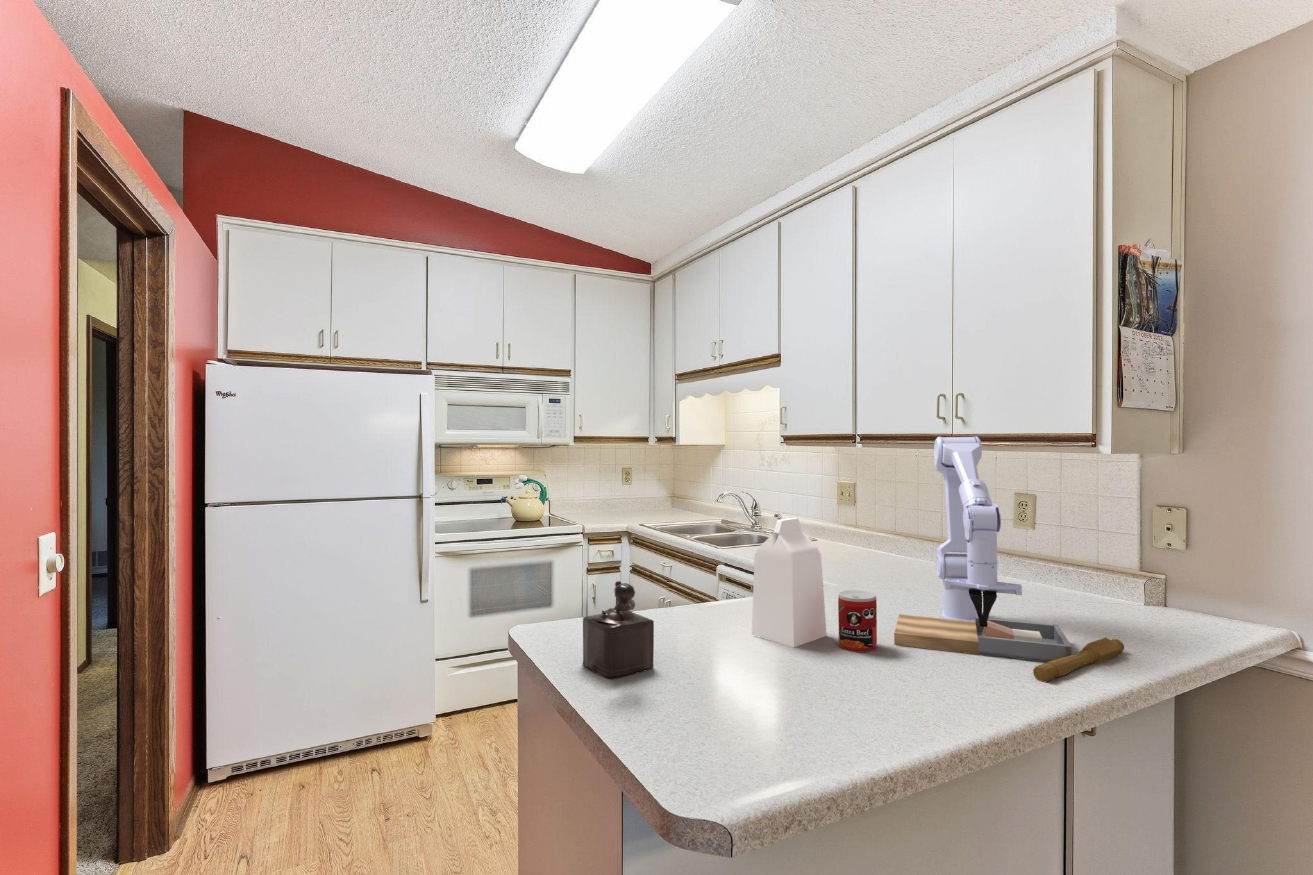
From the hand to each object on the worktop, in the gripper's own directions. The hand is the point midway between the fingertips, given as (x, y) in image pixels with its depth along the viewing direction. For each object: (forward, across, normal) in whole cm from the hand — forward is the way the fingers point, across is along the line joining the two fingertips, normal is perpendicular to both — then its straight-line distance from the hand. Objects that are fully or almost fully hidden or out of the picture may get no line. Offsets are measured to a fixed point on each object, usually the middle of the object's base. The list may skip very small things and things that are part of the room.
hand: (982, 625), depth 137 cm
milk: (+4, -39, -10) cm, 41 cm away
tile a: (+2, +2, 0) cm, 3 cm away
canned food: (+4, -24, -12) cm, 27 cm away
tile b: (+3, +8, 0) cm, 9 cm away
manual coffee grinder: (+4, -63, -44) cm, 77 cm away
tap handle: (+4, +16, -7) cm, 18 cm away
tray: (+4, +7, 0) cm, 8 cm away
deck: (+4, -9, 0) cm, 10 cm away
